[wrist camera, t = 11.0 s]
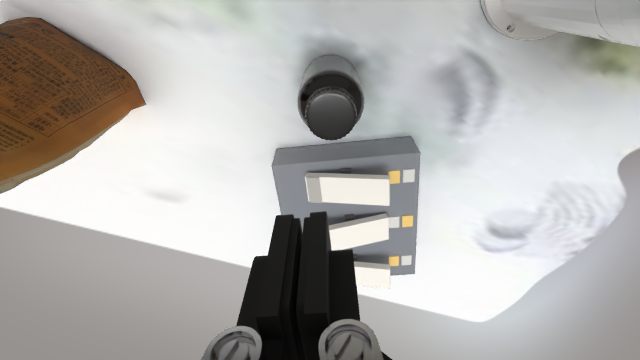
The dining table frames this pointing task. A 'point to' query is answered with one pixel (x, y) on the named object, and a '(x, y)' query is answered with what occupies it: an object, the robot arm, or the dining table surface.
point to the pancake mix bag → (54, 98)
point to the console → (358, 158)
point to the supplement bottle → (330, 97)
